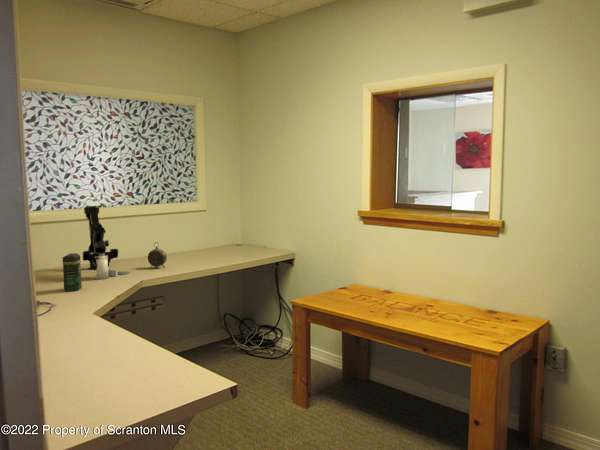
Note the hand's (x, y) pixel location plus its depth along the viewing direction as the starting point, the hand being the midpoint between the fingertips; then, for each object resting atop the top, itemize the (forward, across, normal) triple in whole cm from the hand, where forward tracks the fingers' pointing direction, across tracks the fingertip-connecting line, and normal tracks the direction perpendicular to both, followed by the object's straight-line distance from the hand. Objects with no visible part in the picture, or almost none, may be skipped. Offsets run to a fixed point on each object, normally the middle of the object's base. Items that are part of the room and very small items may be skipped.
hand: (102, 266), depth 289 cm
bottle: (+4, 0, +6) cm, 7 cm away
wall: (0, +5, +10) cm, 11 cm away
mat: (-2, +12, +12) cm, 17 cm away
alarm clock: (-7, +34, +17) cm, 39 cm away
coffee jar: (+19, -17, -9) cm, 27 cm away
